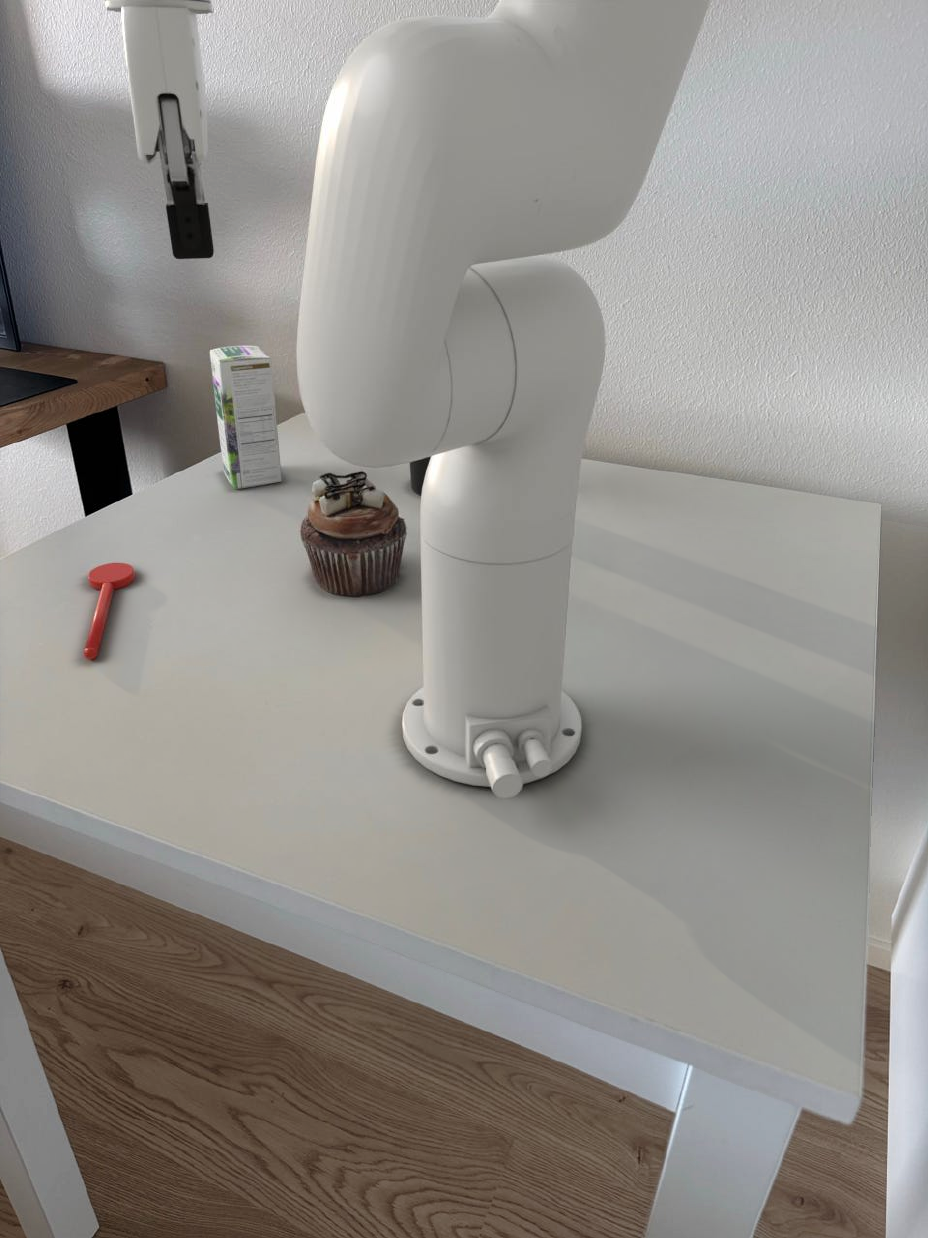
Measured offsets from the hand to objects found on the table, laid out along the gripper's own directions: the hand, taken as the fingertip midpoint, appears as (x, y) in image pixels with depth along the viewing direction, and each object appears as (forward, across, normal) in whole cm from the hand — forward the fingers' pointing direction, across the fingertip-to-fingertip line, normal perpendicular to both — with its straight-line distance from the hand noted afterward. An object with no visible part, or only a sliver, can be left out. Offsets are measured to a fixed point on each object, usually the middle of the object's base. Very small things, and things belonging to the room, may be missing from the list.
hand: (194, 256), depth 75 cm
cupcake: (+27, +8, +11) cm, 30 cm away
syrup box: (+27, -19, +2) cm, 33 cm away
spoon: (+27, +9, -11) cm, 31 cm away
